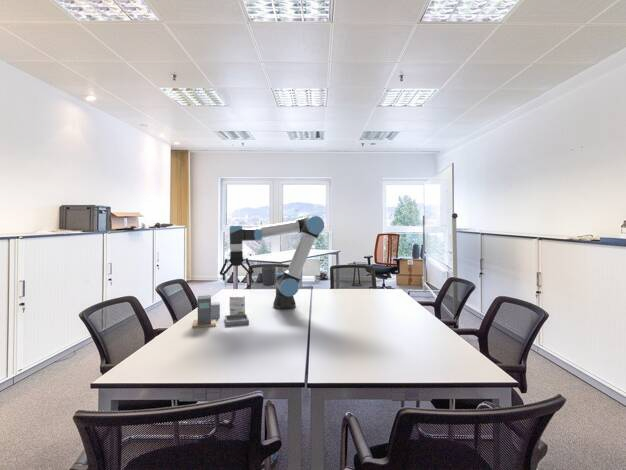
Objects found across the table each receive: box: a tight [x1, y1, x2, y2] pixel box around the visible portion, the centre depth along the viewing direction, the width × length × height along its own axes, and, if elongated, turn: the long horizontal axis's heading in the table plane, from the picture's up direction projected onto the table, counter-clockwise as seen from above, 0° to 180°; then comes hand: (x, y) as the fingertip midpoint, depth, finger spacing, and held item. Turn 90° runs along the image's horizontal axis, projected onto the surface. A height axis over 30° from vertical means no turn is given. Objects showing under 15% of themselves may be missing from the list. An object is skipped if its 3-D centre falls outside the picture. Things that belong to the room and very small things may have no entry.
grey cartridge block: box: [211, 301, 221, 319], centre depth 205 cm, size 5×6×8 cm
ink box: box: [229, 295, 246, 315], centre depth 209 cm, size 9×5×12 cm, turn 86°
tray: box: [224, 313, 250, 327], centre depth 194 cm, size 12×13×2 cm
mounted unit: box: [192, 295, 217, 329], centre depth 190 cm, size 12×12×15 cm
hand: (237, 285), depth 208 cm, fingers open, 13 cm apart
